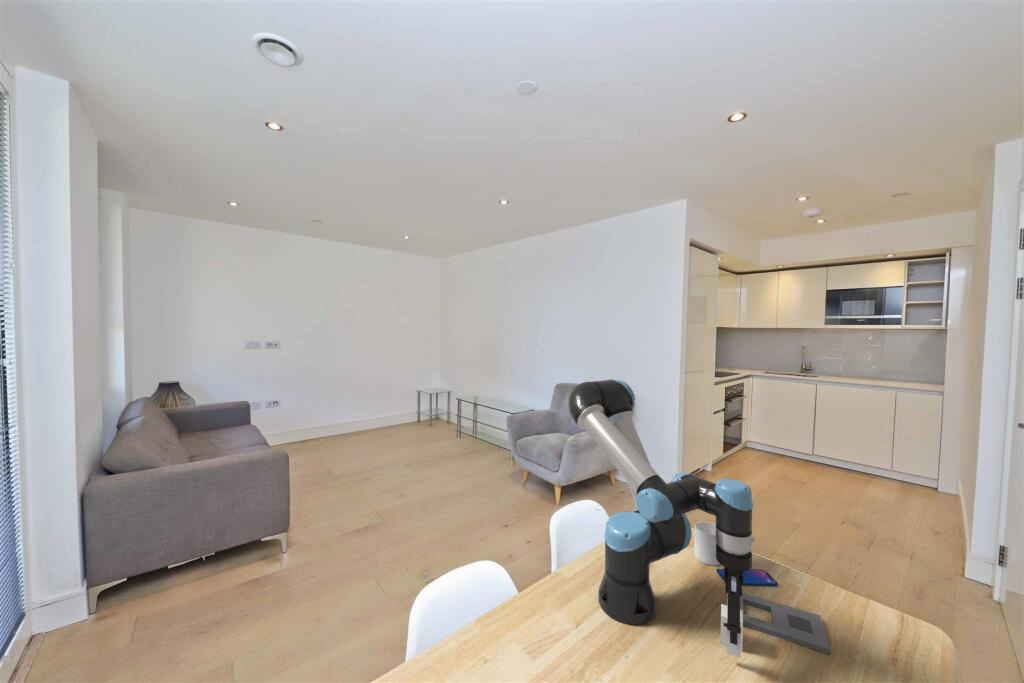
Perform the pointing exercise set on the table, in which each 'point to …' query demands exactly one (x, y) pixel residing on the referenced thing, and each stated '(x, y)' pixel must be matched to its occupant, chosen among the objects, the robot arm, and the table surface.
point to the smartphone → (754, 578)
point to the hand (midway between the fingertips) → (733, 634)
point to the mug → (705, 543)
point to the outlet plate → (787, 623)
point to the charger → (724, 629)
